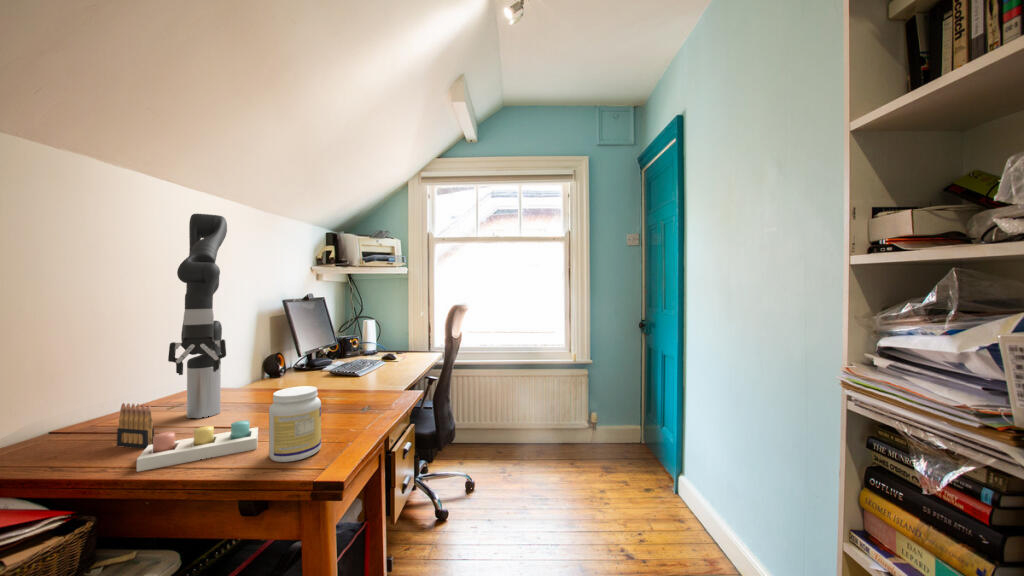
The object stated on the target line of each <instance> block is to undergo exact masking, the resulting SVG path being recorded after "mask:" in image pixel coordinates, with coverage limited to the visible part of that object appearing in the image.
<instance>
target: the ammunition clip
mask: <svg viewBox="0 0 1024 576" xmlns="http://www.w3.org/2000/svg"><path fill="white" fill-rule="evenodd" d="M119 410H120V411H119V419H118V427H117V430H116V433H117V434H116V447H119V446H124V447H123V448H130V447H131V448H132V449H134V448H135V449H141V448H143V450H145V449H146V448H147V446H148V445H152V444H153V436H155V428H154V427H153V417H152V415H153V414H152V407H151V406H150V404H147V406H145V404H142V405H140V404H139V403H137V404H136V405H135V403H132V405H130V403H129V402H128V403H127V404H125V402H122V404H121V407H120V409H119Z"/></svg>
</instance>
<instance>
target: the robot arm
mask: <svg viewBox="0 0 1024 576" xmlns="http://www.w3.org/2000/svg"><path fill="white" fill-rule="evenodd" d="M188 227H189V229H188V231H189V237H188V238H189V242H188V243H189V249H188V250H189V253H188V257H186V258H184V260H183V261H182V262H181V263H180V264H179V266H178V268H177V272H176V273H177V274H176V275H177V277H178V279H179V281H181V282H182V283H185V284H186V285H185V286H186V290H185V291H186V293H185V294H184V312H183V320H182V327H181V336H180V337H181V342H176V341H175V342H173V341H172V342H171V343H169V347H168V348H169V349H168V359H167V361H168V362H169V363H175V367H176V368H175V370H176V371H175V372H176V374H178V376H183V374H184V362H183V360H185V359H186V358H187V357H188V356H189V355H191V356H193V357H191V358H189V359H187V361H186V419H190V418H196V419H203V418H202V417H204V418H208V416H209V417H213V416H216V415H219V414H221V403H222V402H221V398H222V397H221V394H222V393H221V391H222V389H221V382H222V381H221V380H222V379H221V376H222V375H221V372H222V371H221V369H222V368H221V366H222V362H221V360H222V359H224V358H226V356H227V345H226V340H225V338H224V339H223V338H222V335H223V327H222V323H221V322H220V321H219V320H214V309H213V307H214V306H213V304H214V294H215V293H216V292H217V290H218V289H219V286H220V275H221V270H220V266H218V265H217V263H216V261H217V255H218V251H219V249H220V247H221V246H222V244H223V242H224V240H225V239H226V236H227V233H228V223H227V220H226V218H225V217H224V216H223V215H219V214H218V215H216V214H208V213H193V214H191V216H190V218H189V226H188ZM180 347H181V348H183V349H184V351H183V352H182V353H181V354H180V356H179V357H176V352H177V350H179V348H180ZM194 355H196V356H194Z"/></svg>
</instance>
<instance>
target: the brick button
mask: <svg viewBox="0 0 1024 576" xmlns="http://www.w3.org/2000/svg"><path fill="white" fill-rule="evenodd" d="M175 441H176V432H175V431H165V432H161V433H158V434H154V436H153V453H158V452H163V451H169V450H175Z"/></svg>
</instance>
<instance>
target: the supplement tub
mask: <svg viewBox="0 0 1024 576" xmlns="http://www.w3.org/2000/svg"><path fill="white" fill-rule="evenodd" d="M272 395H273V397H272V402H273V403H272V404H270V406H269V409H268V455H269V458H270V460H272V461H274V462H277V463H288V462H294V461H295V462H296V461H300V460H304V459H306V458H309V457H311V456H313V455H315V454H316V453H318V451H319V450H320V449H321V447H322V401H321V399H320V398H319V397H318V395H319V393H318V387H316V386H311V385H304V386H292V387H287V388H283V389H279V390H277V391H275V392H273V394H272Z"/></svg>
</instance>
